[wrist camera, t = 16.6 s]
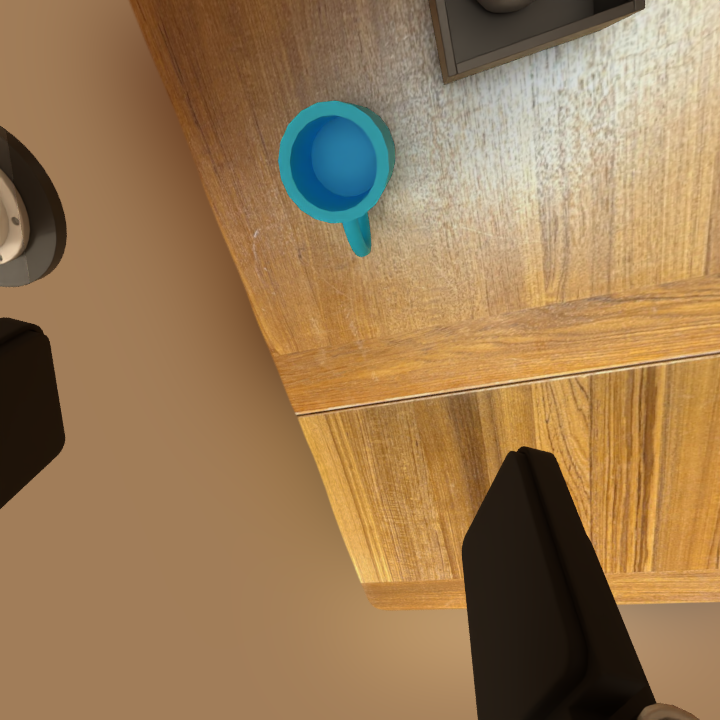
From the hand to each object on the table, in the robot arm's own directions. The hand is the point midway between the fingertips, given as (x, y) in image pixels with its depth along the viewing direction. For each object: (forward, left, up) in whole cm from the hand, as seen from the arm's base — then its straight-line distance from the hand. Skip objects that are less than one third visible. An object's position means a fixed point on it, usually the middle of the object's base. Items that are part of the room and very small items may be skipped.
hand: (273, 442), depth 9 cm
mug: (-3, 0, -36) cm, 36 cm away
